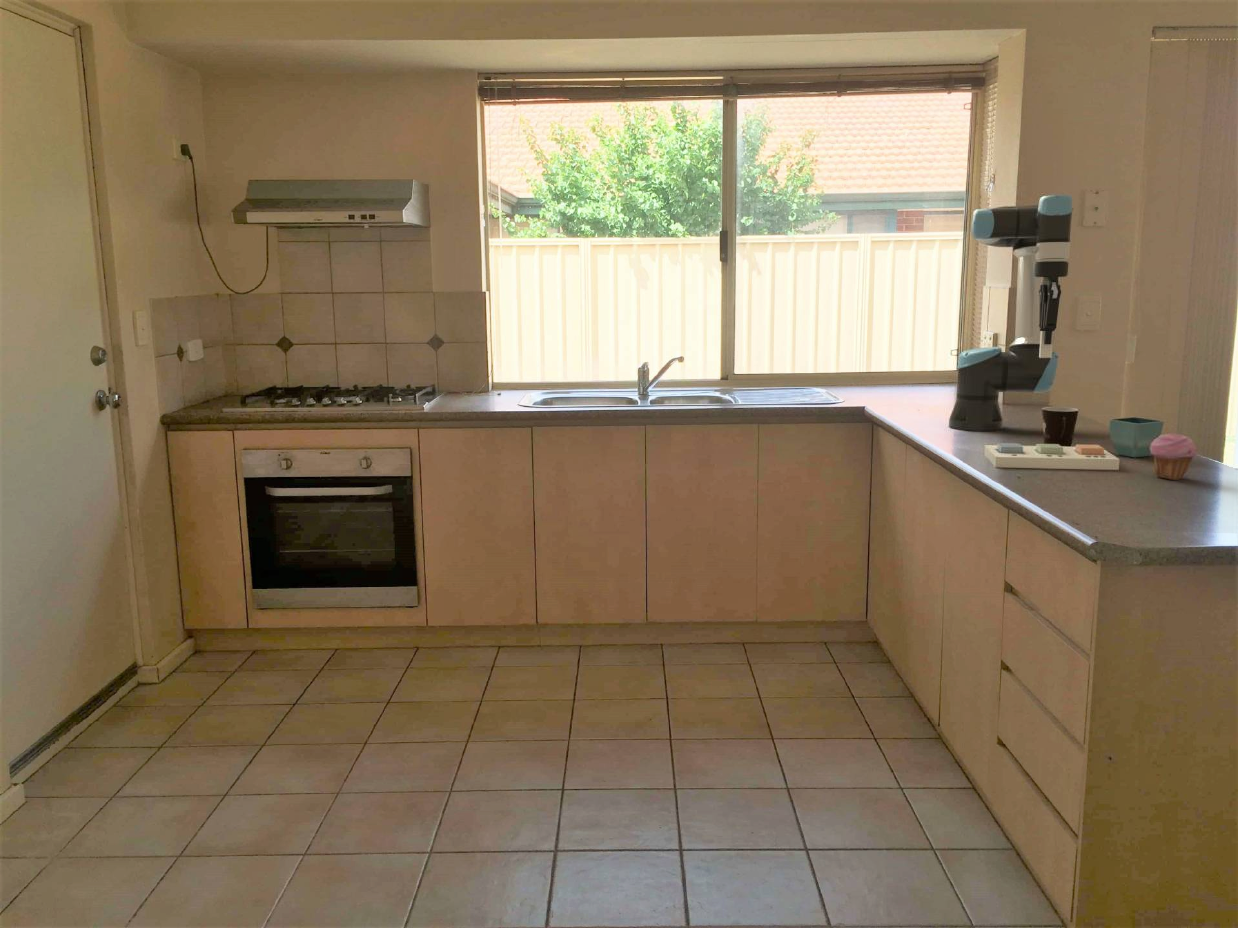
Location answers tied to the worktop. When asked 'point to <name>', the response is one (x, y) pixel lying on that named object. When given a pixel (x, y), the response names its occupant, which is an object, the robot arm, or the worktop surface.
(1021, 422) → the worktop surface
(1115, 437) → the flower pot
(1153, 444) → the cupcake
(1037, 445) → the button
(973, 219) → the robot arm
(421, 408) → the worktop surface
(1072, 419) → the coffee mug
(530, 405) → the worktop surface
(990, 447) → the panel
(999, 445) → the button
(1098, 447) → the button
